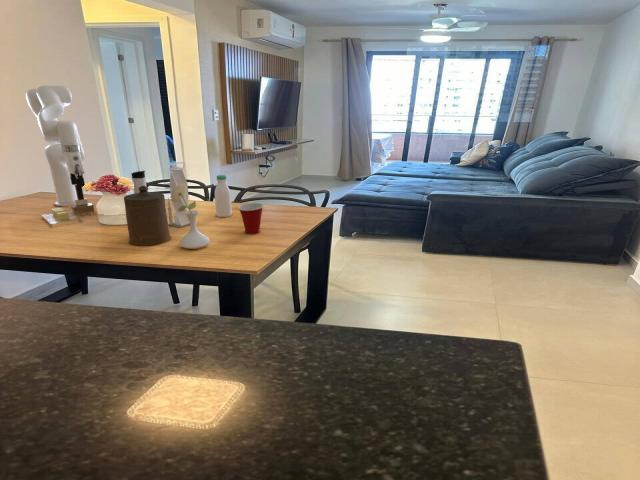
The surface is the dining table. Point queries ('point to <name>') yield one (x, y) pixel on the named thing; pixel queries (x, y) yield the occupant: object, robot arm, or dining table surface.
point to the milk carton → (180, 216)
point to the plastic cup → (251, 216)
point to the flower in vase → (194, 236)
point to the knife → (80, 197)
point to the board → (53, 220)
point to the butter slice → (62, 215)
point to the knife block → (82, 209)
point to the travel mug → (138, 180)
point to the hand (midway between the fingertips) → (78, 185)
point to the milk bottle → (222, 197)
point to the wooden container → (146, 217)
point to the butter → (57, 211)
